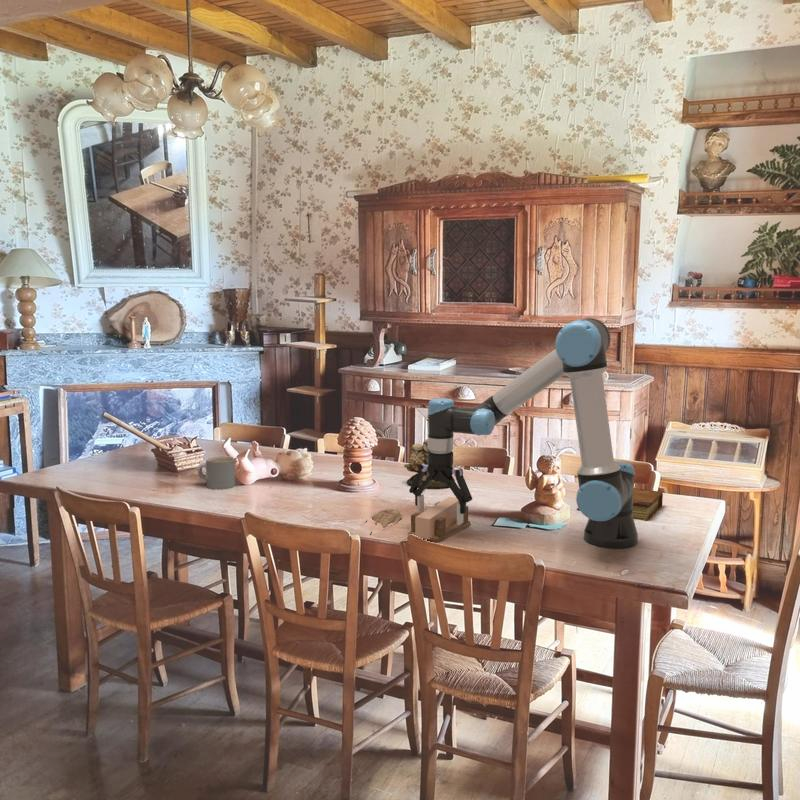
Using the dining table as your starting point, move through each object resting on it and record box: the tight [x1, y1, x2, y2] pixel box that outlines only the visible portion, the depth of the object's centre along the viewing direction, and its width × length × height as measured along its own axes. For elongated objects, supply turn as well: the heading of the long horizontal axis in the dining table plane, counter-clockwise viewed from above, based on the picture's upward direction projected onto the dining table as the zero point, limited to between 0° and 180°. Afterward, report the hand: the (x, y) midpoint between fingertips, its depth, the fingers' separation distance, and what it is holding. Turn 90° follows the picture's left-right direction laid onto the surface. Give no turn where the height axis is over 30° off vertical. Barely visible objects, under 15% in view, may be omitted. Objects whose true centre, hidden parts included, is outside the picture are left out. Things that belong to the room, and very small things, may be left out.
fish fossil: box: [370, 508, 402, 529], centre depth 259 cm, size 26×10×1 cm, turn 169°
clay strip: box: [415, 496, 459, 539], centre depth 250 cm, size 4×24×6 cm, turn 153°
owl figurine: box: [403, 438, 450, 490], centre depth 302 cm, size 18×12×17 cm, turn 75°
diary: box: [576, 487, 664, 522], centre depth 274 cm, size 23×19×6 cm
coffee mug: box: [197, 455, 236, 491], centre depth 302 cm, size 13×10×10 cm
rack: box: [407, 501, 471, 543], centre depth 251 cm, size 10×20×6 cm, turn 147°
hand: (440, 520), depth 251 cm, fingers open, 13 cm apart
